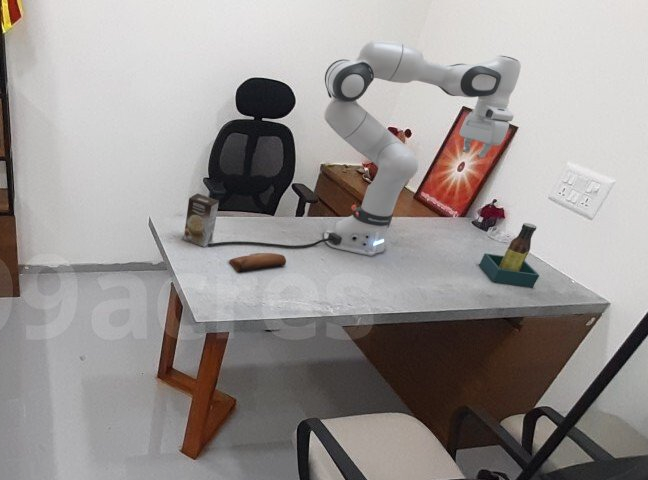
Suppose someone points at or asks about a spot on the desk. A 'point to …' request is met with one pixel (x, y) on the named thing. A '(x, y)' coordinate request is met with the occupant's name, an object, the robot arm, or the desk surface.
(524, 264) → the teal open box
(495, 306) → the desk surface
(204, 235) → the coffee box
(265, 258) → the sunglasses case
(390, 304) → the desk surface
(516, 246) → the sauce bottle
